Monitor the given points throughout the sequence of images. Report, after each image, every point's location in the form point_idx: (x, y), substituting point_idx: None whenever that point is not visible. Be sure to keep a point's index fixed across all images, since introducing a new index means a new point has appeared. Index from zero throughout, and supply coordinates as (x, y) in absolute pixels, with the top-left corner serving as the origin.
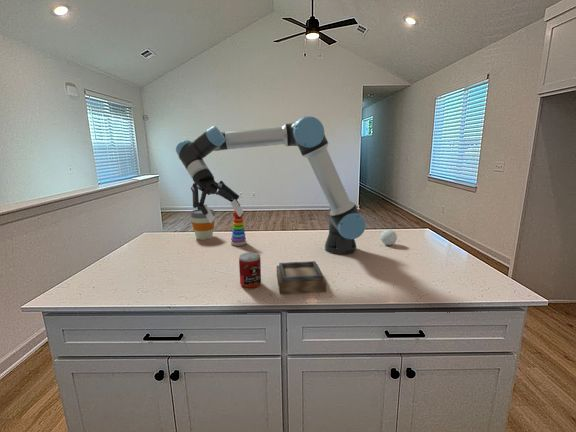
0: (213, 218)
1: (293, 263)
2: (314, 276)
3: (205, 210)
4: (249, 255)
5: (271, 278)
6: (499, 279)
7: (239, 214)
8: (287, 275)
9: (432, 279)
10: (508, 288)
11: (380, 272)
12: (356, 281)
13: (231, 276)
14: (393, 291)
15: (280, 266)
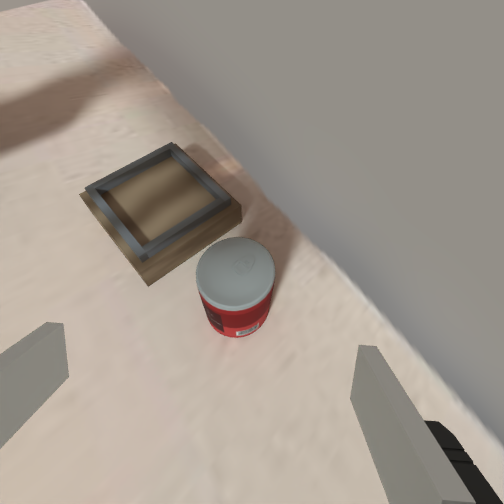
0: (374, 346)
1: (123, 224)
2: (182, 152)
3: (442, 443)
4: (223, 282)
5: (175, 286)
6: (15, 14)
7: (60, 366)
8: (190, 213)
9: (45, 63)
10: (48, 9)
11: (37, 120)
12: (104, 139)
13: (226, 404)
14: (123, 91)
15: (164, 238)
